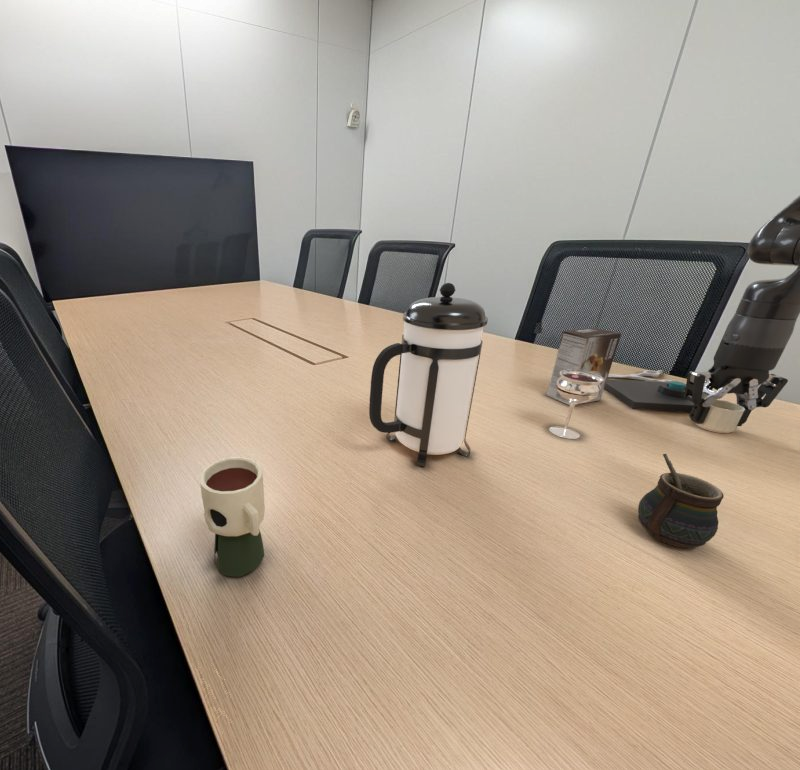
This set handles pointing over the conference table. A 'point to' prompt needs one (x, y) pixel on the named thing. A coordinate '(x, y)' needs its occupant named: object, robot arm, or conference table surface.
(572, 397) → the wineglass
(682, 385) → the tare button
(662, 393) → the scale
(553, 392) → the coffee box
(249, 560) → the character mug
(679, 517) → the mate gourd
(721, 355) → the robot arm
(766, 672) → the conference table surface
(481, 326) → the coffee press
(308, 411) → the conference table surface
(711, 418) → the bowl
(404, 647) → the conference table surface
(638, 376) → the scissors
